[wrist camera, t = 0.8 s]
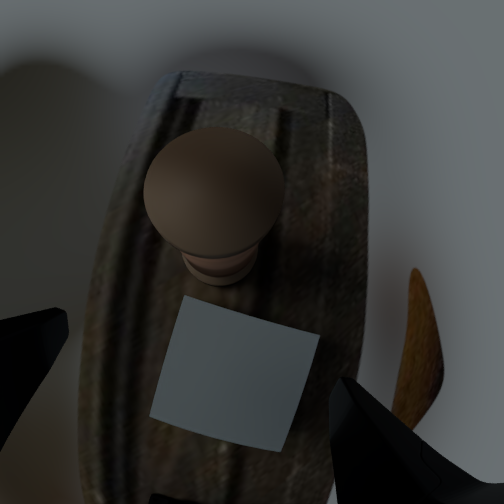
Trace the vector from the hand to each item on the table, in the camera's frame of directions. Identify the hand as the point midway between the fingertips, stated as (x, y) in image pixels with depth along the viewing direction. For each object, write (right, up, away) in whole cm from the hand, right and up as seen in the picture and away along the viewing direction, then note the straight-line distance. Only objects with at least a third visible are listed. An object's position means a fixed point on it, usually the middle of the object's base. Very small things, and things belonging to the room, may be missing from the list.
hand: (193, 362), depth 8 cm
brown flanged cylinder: (-1, +3, +15) cm, 16 cm away
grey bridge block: (0, -6, +13) cm, 15 cm away
